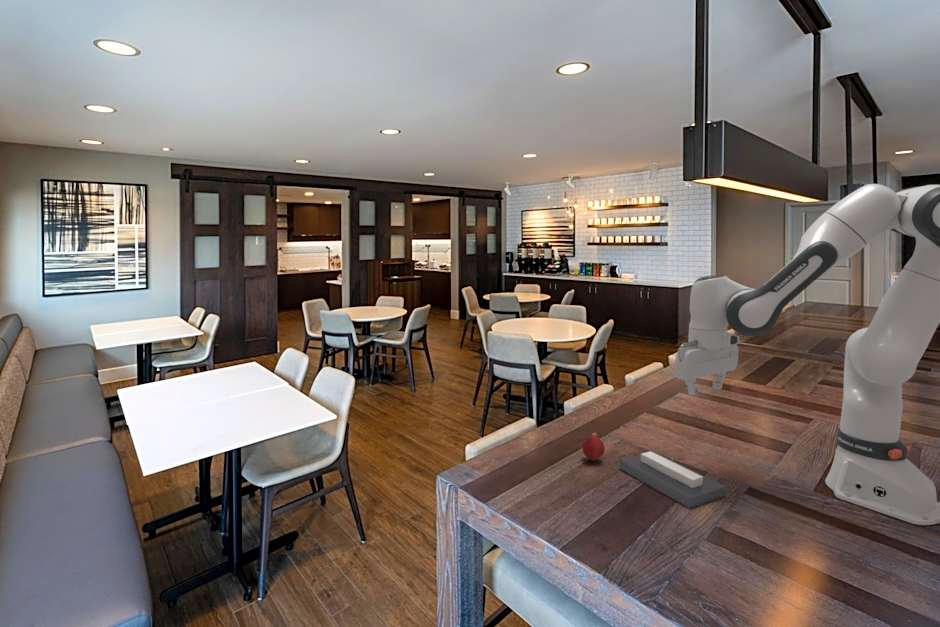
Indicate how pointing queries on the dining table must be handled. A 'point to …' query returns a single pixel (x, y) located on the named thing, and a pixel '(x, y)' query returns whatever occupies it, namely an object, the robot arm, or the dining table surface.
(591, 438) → the onion
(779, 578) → the dining table surface
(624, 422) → the dining table surface
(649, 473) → the plate
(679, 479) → the strip
